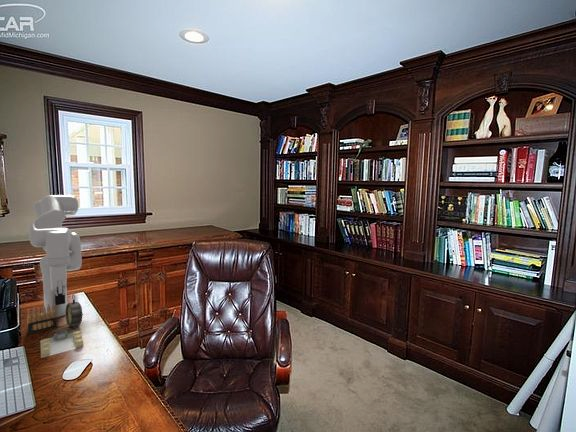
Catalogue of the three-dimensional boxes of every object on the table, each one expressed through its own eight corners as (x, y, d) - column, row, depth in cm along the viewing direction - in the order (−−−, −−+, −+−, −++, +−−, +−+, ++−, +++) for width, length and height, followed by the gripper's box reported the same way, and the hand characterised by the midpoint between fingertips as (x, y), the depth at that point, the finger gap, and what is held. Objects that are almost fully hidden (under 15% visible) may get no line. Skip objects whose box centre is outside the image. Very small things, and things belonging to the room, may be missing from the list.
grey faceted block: (53, 337, 132) (53, 332, 132) (67, 334, 135) (67, 329, 135) (54, 341, 129) (53, 336, 129) (68, 338, 132) (68, 332, 132)
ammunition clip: (27, 334, 135) (26, 309, 134) (27, 333, 136) (25, 307, 135) (57, 327, 143) (56, 303, 141) (56, 325, 144) (55, 301, 143)
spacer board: (40, 341, 130) (40, 334, 130) (79, 331, 139) (79, 325, 139) (41, 359, 117) (40, 352, 116) (84, 347, 126) (83, 340, 125)
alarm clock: (65, 324, 145) (63, 292, 144) (78, 321, 149) (77, 290, 148) (71, 332, 138) (69, 298, 136) (84, 328, 142) (83, 295, 140)
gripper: (45, 258, 126) (48, 300, 128) (47, 266, 114) (49, 312, 116) (68, 255, 130) (69, 296, 132) (71, 263, 119) (73, 307, 121)
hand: (60, 303), depth 124 cm, fingers closed
